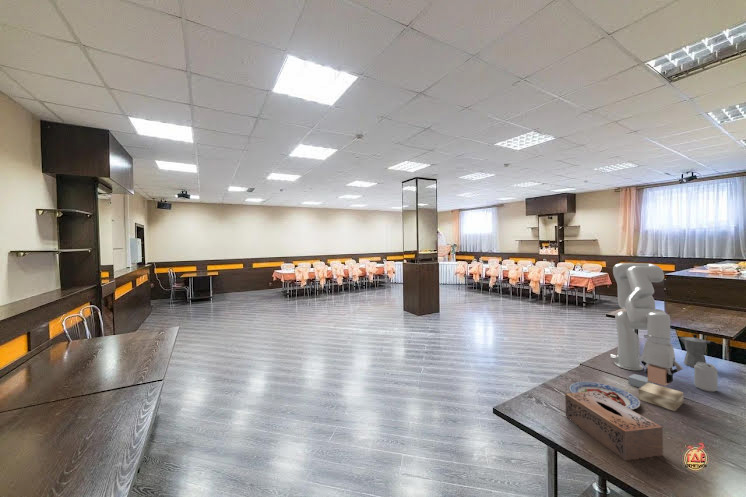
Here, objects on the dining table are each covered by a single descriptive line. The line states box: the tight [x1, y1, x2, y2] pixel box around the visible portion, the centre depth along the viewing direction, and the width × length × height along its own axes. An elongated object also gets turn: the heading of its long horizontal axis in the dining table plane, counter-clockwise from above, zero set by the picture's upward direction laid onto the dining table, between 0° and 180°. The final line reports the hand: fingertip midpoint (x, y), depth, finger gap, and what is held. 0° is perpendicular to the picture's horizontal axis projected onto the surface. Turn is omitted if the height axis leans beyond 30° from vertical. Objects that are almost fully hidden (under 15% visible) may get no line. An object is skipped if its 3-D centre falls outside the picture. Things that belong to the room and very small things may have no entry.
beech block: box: [638, 382, 684, 412], centre depth 136 cm, size 12×12×5 cm
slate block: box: [627, 373, 653, 389], centre depth 151 cm, size 7×7×4 cm
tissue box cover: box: [564, 391, 664, 462], centre depth 113 cm, size 26×14×10 cm, turn 8°
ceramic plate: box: [569, 381, 641, 411], centre depth 139 cm, size 26×26×3 cm
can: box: [693, 362, 719, 393], centre depth 146 cm, size 8×8×12 cm
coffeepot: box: [678, 333, 719, 369], centre depth 171 cm, size 15×9×18 cm, turn 37°
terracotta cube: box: [648, 364, 671, 387], centre depth 136 cm, size 6×6×7 cm
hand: (659, 379), depth 136 cm, fingers closed on terracotta cube, 6 cm apart
